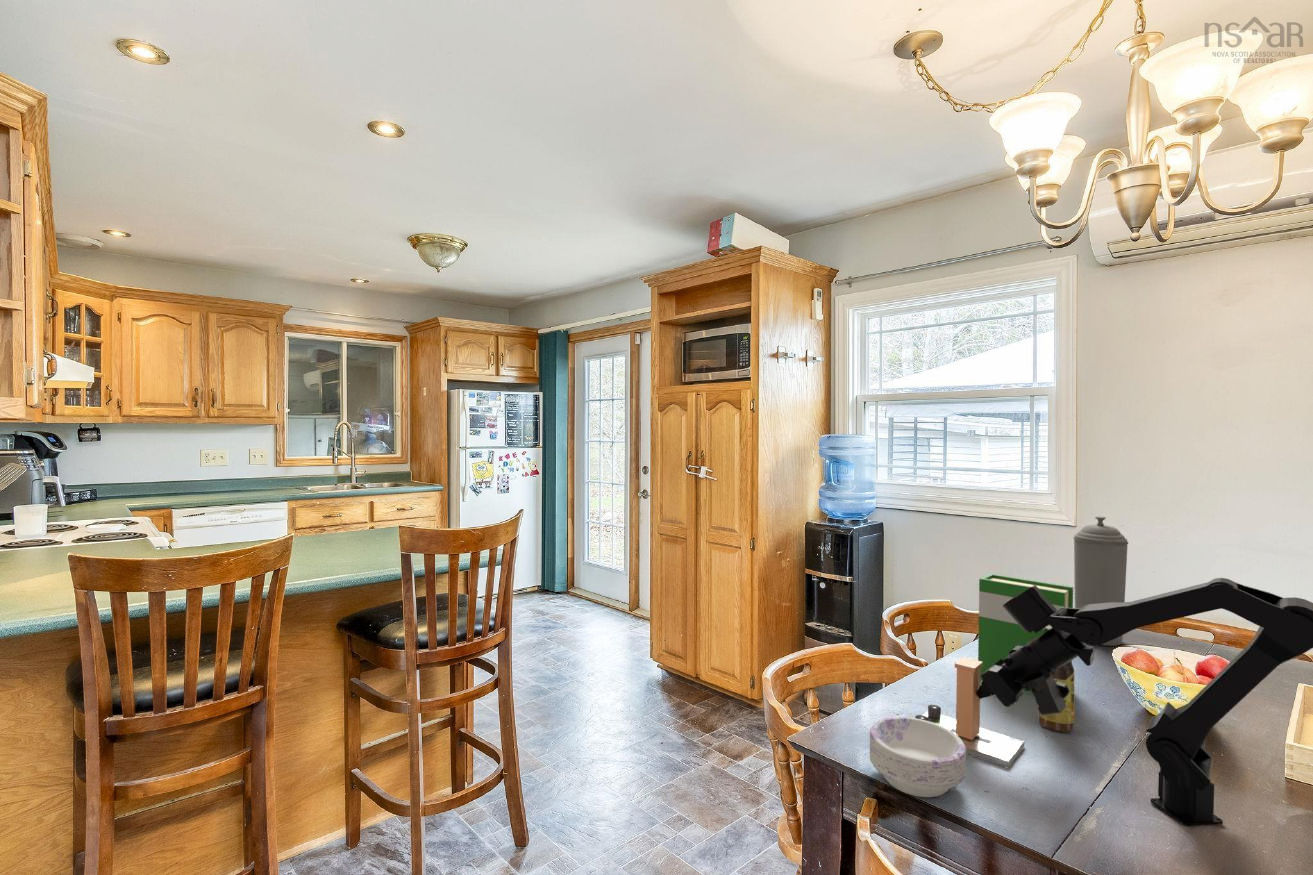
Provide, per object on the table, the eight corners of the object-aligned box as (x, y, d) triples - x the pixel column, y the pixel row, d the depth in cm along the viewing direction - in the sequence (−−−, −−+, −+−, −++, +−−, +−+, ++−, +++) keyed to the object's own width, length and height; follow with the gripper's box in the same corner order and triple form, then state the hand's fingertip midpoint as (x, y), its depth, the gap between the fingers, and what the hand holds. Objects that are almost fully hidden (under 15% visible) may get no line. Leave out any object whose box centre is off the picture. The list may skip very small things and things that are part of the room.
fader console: (1024, 747, 121) (1024, 730, 121) (1008, 767, 114) (1008, 750, 114) (927, 716, 134) (927, 701, 133) (907, 733, 126) (908, 717, 126)
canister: (1135, 650, 173) (1138, 520, 172) (1082, 646, 176) (1084, 519, 175) (1113, 634, 185) (1116, 514, 184) (1064, 631, 188) (1066, 512, 187)
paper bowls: (960, 820, 99) (960, 769, 99) (859, 790, 107) (860, 743, 107) (969, 773, 112) (970, 729, 112) (879, 750, 120) (880, 708, 120)
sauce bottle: (1079, 735, 126) (1081, 634, 125) (1044, 732, 127) (1046, 632, 127) (1065, 720, 132) (1067, 624, 132) (1032, 717, 133) (1034, 622, 133)
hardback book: (1071, 691, 146) (1073, 587, 146) (1062, 701, 141) (1064, 593, 141) (988, 669, 159) (990, 573, 158) (977, 677, 154) (979, 578, 153)
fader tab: (981, 732, 124) (982, 661, 123) (973, 741, 120) (974, 668, 120) (962, 726, 126) (963, 656, 126) (953, 734, 123) (954, 663, 123)
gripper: (1070, 712, 103) (994, 754, 111) (1094, 679, 117) (1024, 718, 125) (1017, 652, 109) (948, 696, 117) (1045, 626, 122) (982, 667, 130)
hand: (978, 695), depth 122 cm, fingers closed, pressing on fader tab
